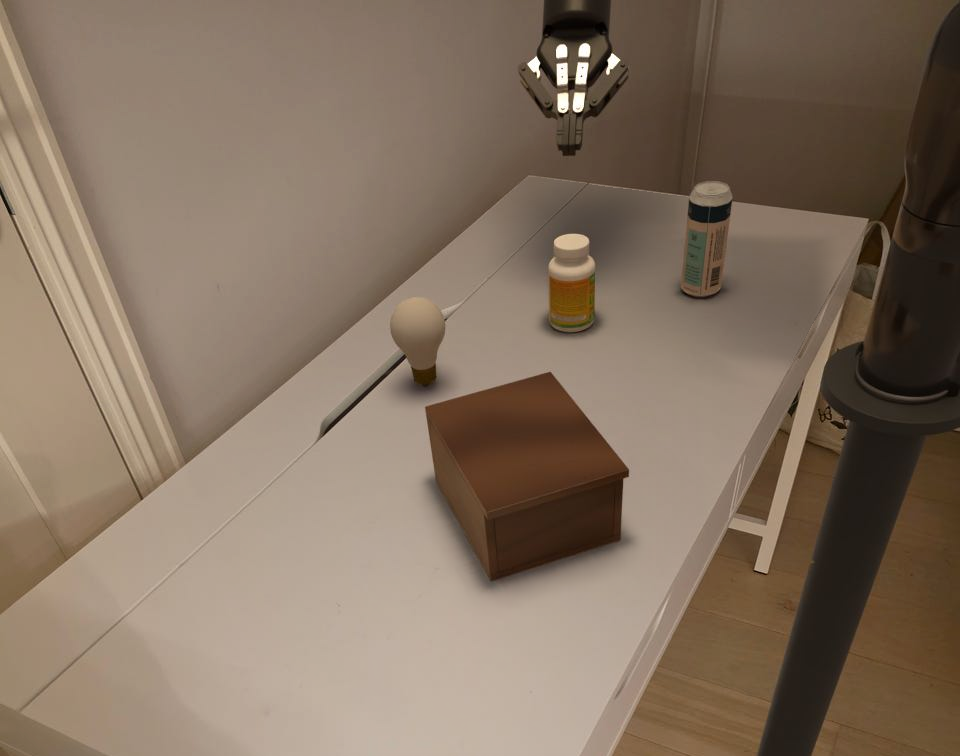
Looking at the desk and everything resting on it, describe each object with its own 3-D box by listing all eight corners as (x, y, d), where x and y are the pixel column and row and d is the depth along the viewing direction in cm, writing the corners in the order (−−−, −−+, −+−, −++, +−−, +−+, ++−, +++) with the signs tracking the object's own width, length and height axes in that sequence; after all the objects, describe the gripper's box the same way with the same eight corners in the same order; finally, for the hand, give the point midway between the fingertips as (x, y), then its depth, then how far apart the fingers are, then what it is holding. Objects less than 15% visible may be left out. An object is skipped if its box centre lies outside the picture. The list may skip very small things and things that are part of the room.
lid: (629, 477, 73) (629, 469, 72) (487, 520, 71) (487, 512, 70) (550, 378, 83) (550, 371, 83) (425, 413, 81) (424, 406, 81)
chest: (620, 540, 79) (624, 471, 73) (490, 581, 77) (483, 513, 71) (552, 446, 89) (550, 379, 83) (435, 480, 87) (425, 414, 81)
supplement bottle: (597, 331, 103) (599, 249, 96) (552, 336, 103) (550, 254, 96) (590, 308, 107) (592, 228, 100) (546, 313, 107) (544, 233, 100)
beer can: (721, 281, 109) (734, 179, 100) (719, 300, 106) (732, 197, 97) (682, 279, 110) (691, 179, 101) (678, 298, 107) (688, 196, 98)
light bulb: (404, 370, 101) (391, 287, 94) (455, 369, 100) (445, 285, 93) (396, 399, 97) (381, 315, 90) (448, 399, 96) (438, 313, 89)
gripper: (515, -27, 96) (506, 138, 97) (638, -34, 94) (627, 134, 95) (522, 16, 103) (515, 169, 104) (636, 11, 101) (627, 167, 102)
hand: (568, 152), depth 100 cm, fingers closed
